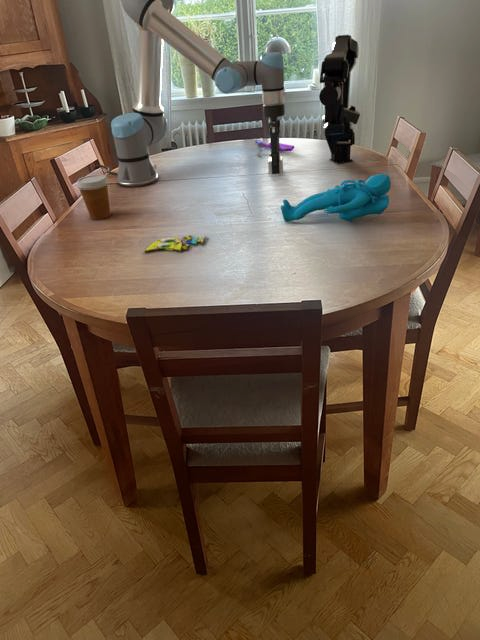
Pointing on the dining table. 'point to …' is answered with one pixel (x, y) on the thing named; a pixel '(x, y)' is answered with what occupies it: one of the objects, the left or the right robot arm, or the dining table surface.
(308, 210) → the toy
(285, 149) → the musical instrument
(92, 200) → the disposable coffee cup
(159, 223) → the dining table surface
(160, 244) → the toy
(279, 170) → the block
